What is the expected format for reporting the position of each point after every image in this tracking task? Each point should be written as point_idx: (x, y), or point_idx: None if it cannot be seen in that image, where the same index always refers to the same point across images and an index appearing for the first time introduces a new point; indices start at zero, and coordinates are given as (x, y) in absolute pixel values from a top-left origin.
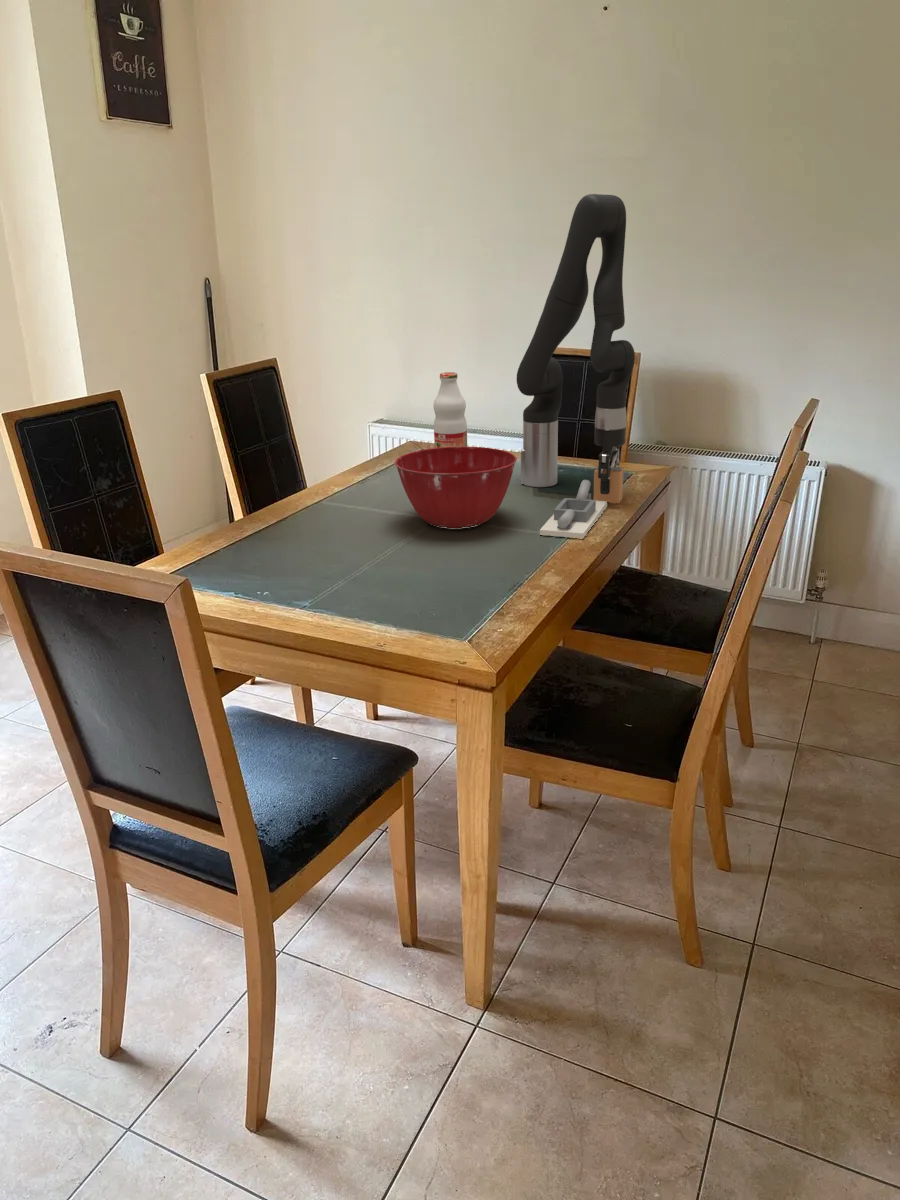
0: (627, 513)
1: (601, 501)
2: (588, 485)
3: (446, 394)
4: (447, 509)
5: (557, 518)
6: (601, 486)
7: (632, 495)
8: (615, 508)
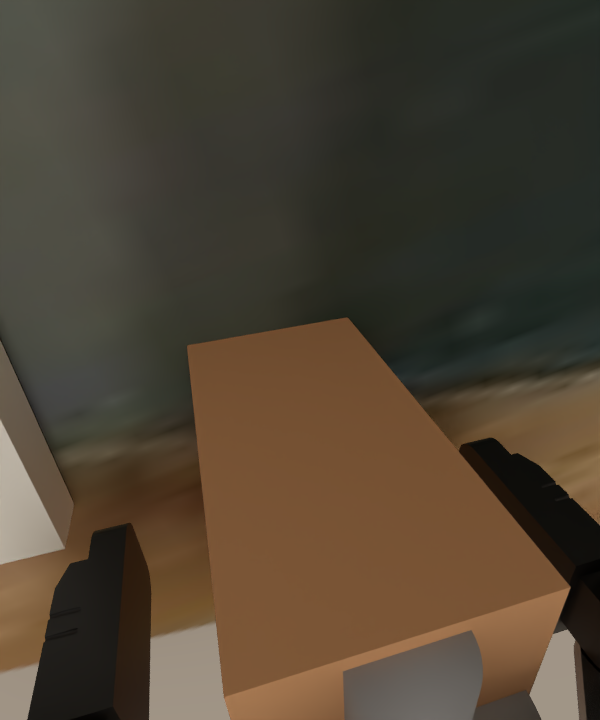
0: (7, 653)
1: (26, 517)
2: None
3: None
4: None
5: None
6: (83, 615)
7: None
8: (84, 556)
